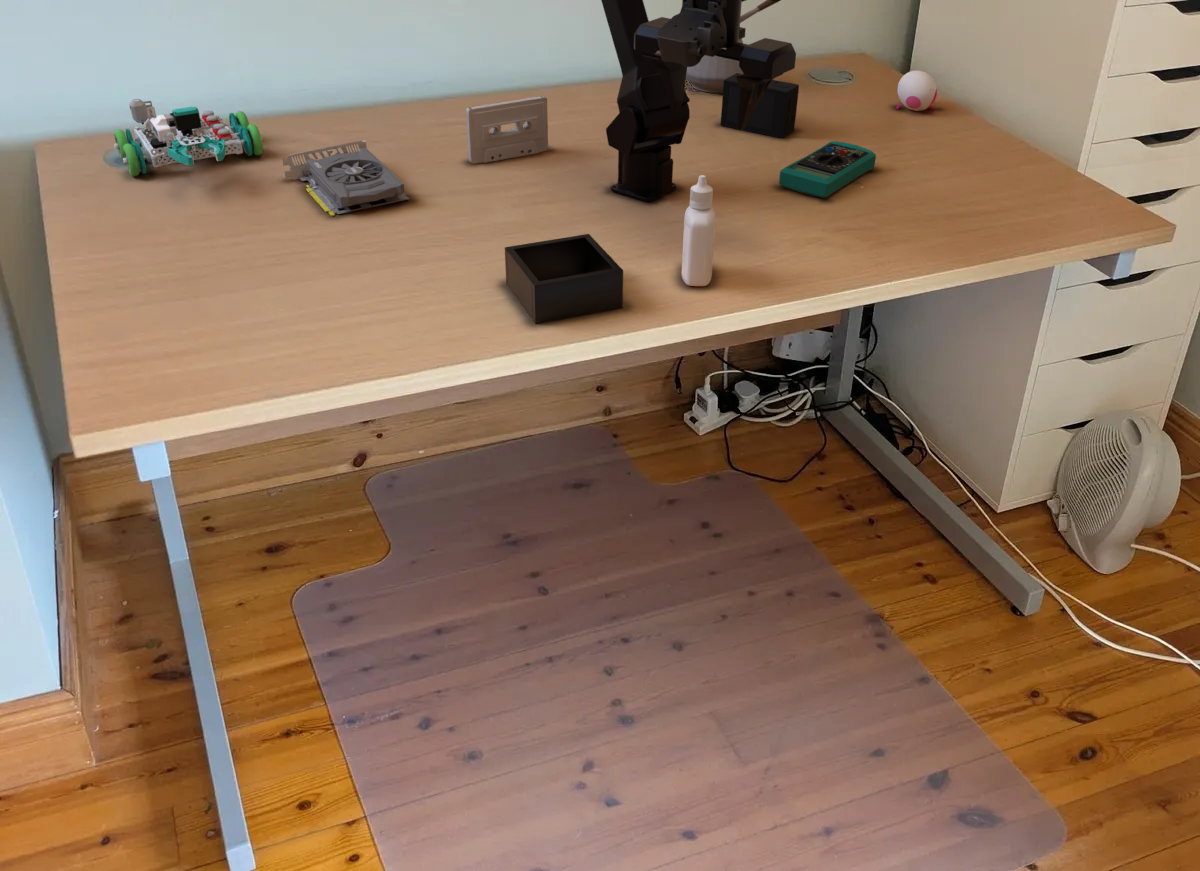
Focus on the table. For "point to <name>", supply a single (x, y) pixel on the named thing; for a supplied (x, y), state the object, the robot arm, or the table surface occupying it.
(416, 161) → the table surface
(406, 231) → the table surface
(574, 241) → the holder
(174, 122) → the robot kit
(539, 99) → the cassette
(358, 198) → the graphics card
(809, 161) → the digital multimeter
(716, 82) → the coffee pot
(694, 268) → the eye dropper bottle
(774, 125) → the digital camera
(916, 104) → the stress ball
